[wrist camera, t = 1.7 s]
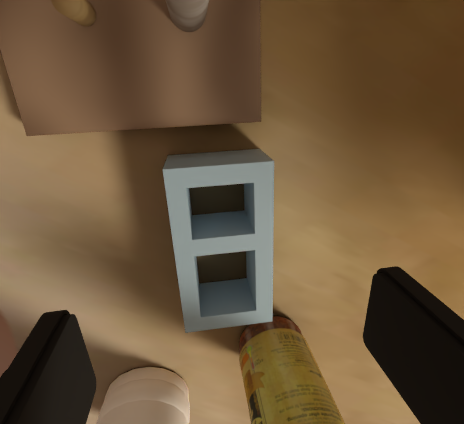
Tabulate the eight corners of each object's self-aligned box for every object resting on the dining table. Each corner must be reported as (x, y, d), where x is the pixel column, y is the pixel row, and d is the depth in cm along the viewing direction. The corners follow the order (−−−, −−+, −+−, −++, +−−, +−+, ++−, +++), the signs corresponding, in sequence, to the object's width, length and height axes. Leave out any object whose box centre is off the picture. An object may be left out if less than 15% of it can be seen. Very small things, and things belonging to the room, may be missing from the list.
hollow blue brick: (260, 288, 25) (272, 321, 22) (186, 297, 25) (185, 332, 21) (259, 148, 21) (274, 161, 17) (167, 155, 20) (162, 169, 17)
